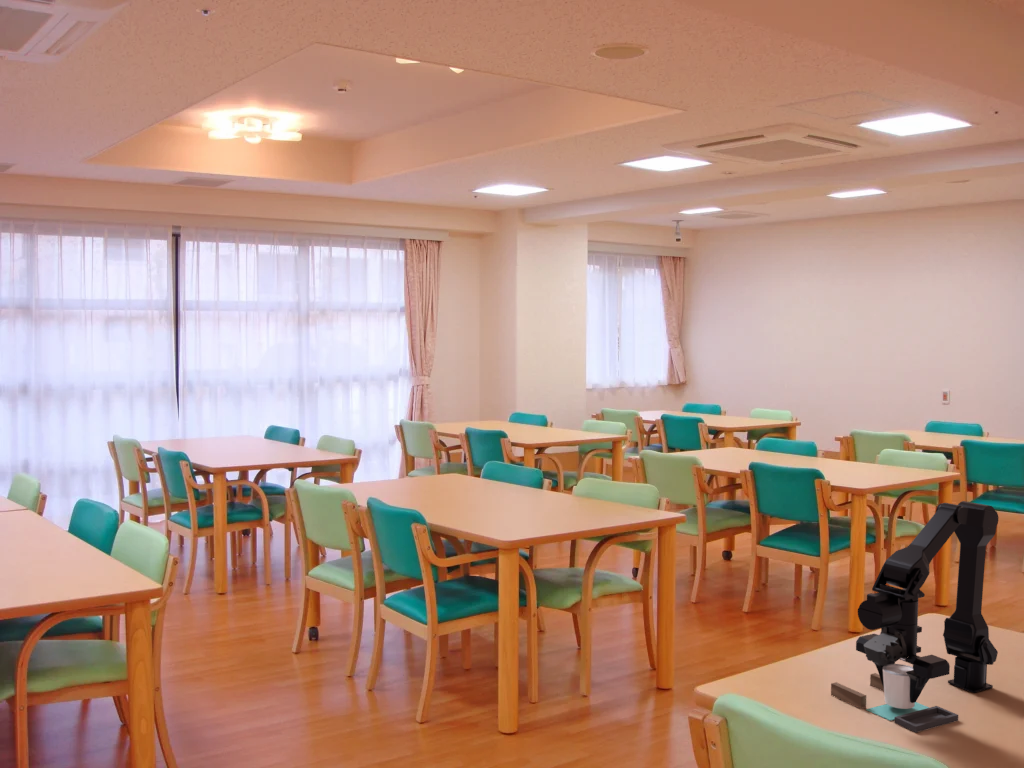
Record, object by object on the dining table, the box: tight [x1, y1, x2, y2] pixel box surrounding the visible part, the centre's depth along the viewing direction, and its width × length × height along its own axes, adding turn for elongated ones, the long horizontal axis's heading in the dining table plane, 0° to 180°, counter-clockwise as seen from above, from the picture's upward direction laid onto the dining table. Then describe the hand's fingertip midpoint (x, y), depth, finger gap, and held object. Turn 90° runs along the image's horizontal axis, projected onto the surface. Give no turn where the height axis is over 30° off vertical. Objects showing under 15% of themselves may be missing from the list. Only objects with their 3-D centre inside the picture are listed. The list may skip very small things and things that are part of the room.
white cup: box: [883, 663, 915, 709], centre depth 197 cm, size 7×7×7 cm
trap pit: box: [894, 705, 959, 733], centre depth 191 cm, size 12×5×1 cm, turn 118°
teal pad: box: [866, 701, 930, 722], centre depth 197 cm, size 12×6×1 cm, turn 118°
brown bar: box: [830, 672, 884, 710], centre depth 204 cm, size 13×8×2 cm, turn 118°
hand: (899, 696), depth 197 cm, fingers closed on white cup, 6 cm apart
